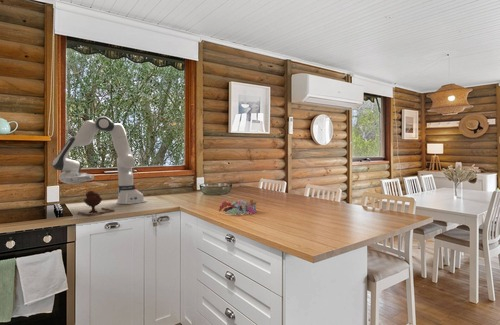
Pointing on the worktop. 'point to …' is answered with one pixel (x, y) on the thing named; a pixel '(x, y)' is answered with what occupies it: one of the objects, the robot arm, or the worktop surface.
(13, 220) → the worktop surface
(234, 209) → the coral reef ornament
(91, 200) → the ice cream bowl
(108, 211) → the walnut bay
